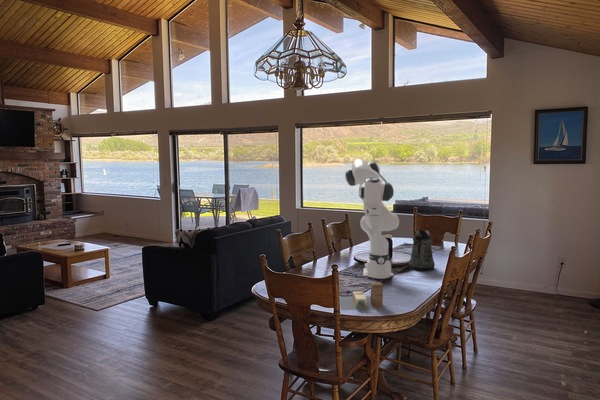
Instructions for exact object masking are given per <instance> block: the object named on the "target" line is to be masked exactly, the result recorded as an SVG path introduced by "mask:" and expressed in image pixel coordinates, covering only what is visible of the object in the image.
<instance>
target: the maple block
mask: <svg viewBox="0 0 600 400" xmlns="http://www.w3.org/2000/svg"><path fill="white" fill-rule="evenodd" d="M352 296H353V303H354V305H355V307H356V309H366V300H367V299H366V297H365V296H366V295H365V294H364V292H363V291H353V290H352Z"/></svg>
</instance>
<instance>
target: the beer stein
mask: <svg viewBox="0 0 600 400" xmlns="http://www.w3.org/2000/svg"><path fill="white" fill-rule="evenodd" d="M412 241H413V242H412V248H411V254H410V260H409V261H408V265H409V269H411V270H413V271H416V272H432V271H434V269H435V261H434V258H433V257H434V256H433V250H432V241H433V238H432V236H431V235H429V234H428V233H427V231H425V230H419V231H418V232H417V233H416V234H415V235H413V236H412Z"/></svg>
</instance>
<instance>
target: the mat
mask: <svg viewBox="0 0 600 400" xmlns="http://www.w3.org/2000/svg"><path fill="white" fill-rule="evenodd" d="M339 297H340V305H339V308H340V310H341V311H353V310H354V311H359V310H360V311H363V310H364V311H365V310H366V311H367V310H370V311H371V310H373V311H375V310H376V311H377V310H381V311H382V310H385V311H386V310H387V308H386V307H385V306H384V304H383V306H382V307H372V305H371V295H369V296H367V295H365V297H366V299H367V300H366V309H356V307H355V305H354V303H353V295H351V296H339Z"/></svg>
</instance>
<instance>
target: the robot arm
mask: <svg viewBox="0 0 600 400" xmlns="http://www.w3.org/2000/svg"><path fill="white" fill-rule="evenodd" d="M380 171H381V170H380V167H379V165H378V164H377V163H376V162H375V161H369V162H367V161H366V160H365V159H363V158H357V159H354V161H353V162H352V165H351V169H348V170H347V171H345V175H344V177H345V182H346V183H347V184H348V185H349V186H352V187H355V186H357V185H358V186H359V187H358V190H359V191H358V197H359V198H360V199H361V200H362V203H363V213H364V215H363V216H362V217H361V219H360V223H359V225H360V229H362V231H364V232H365V233H366V234H367V236H368V239H369V244H370V245H369V251H370V252H369V254H368V260H367V261H366V262H367V263H364V267H363V276H364V277H369V278H372V279H383V280H384V279H389V278H391V277H393V276H394V275H395V274H394V273H393V272H392V263H391V261H390V260H389V259H390V254H389V243H390V242H389V241H388V239H387V238H385V237H384V236H383V235H382V232H390V231H393V230H397V229H398V227H399V225H400V219H399V216H398V215H397V214H396V213H394V212H392V211H391V210H390V209H388V208H387V206H386V205H385V204H384V202H389V201H390V200H391V199H392V198H393V197H394V187H393V185H392V184H391V183H390V182H388V181H387V180H386V179H385V177H384V176H383V175H381V173H380Z"/></svg>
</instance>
